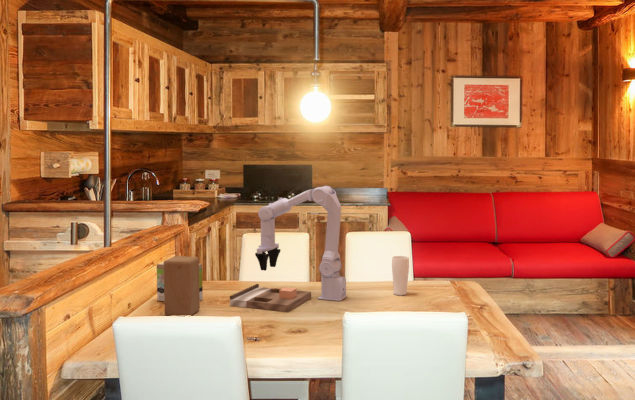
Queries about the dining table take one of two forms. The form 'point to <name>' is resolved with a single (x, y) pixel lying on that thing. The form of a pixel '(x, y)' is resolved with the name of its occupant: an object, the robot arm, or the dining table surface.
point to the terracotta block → (288, 293)
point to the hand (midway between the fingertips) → (268, 268)
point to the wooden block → (181, 285)
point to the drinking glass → (400, 274)
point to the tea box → (161, 282)
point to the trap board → (267, 299)
